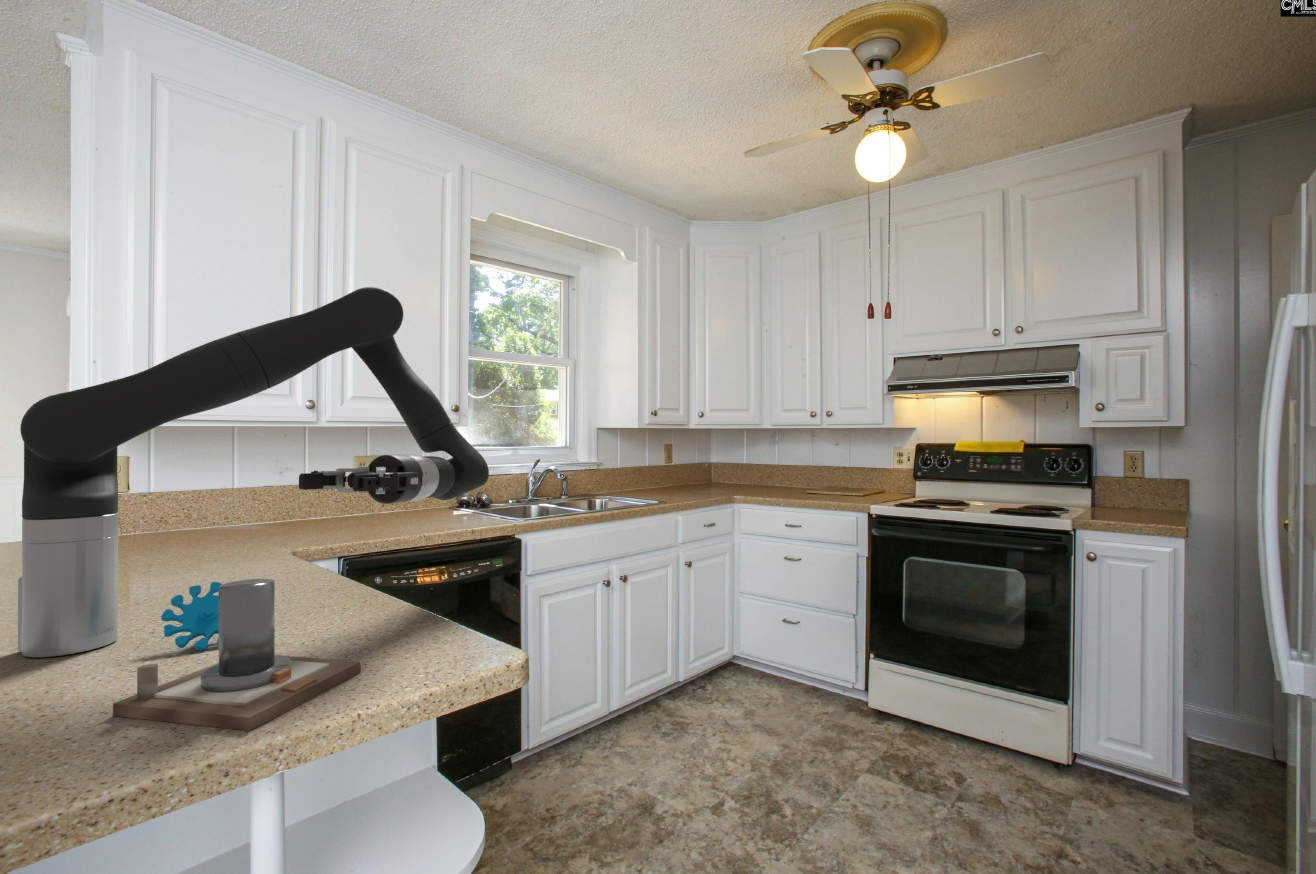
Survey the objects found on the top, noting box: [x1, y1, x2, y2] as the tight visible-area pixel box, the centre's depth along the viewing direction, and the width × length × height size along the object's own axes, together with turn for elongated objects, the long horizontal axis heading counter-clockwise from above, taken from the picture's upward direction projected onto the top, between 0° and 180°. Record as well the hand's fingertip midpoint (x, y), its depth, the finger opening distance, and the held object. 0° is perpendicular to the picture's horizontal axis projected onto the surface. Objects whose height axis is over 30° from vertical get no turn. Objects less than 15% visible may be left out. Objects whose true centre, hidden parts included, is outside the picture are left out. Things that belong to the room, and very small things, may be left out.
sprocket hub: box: [201, 578, 291, 693], centre depth 66 cm, size 9×8×10 cm
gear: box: [161, 581, 223, 652], centre depth 84 cm, size 11×6×10 cm
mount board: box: [112, 654, 362, 732], centre depth 66 cm, size 16×15×4 cm
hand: (327, 482), depth 83 cm, fingers open, 8 cm apart
